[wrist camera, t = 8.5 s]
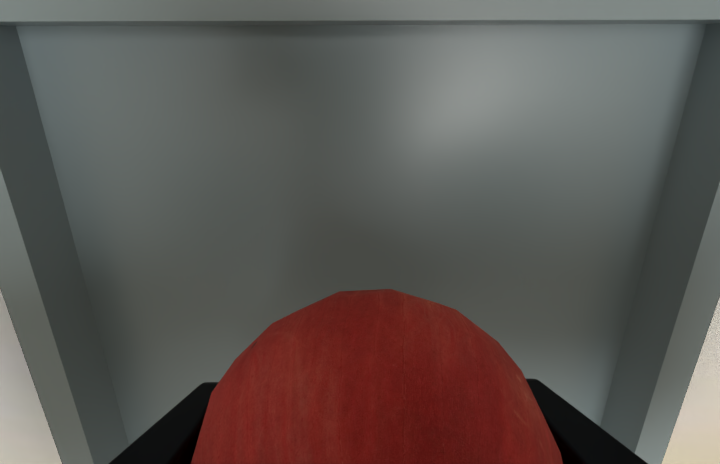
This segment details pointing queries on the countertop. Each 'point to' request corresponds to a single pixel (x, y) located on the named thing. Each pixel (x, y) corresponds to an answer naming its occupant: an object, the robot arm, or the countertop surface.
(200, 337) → the tray
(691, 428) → the countertop surface
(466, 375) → the onion
